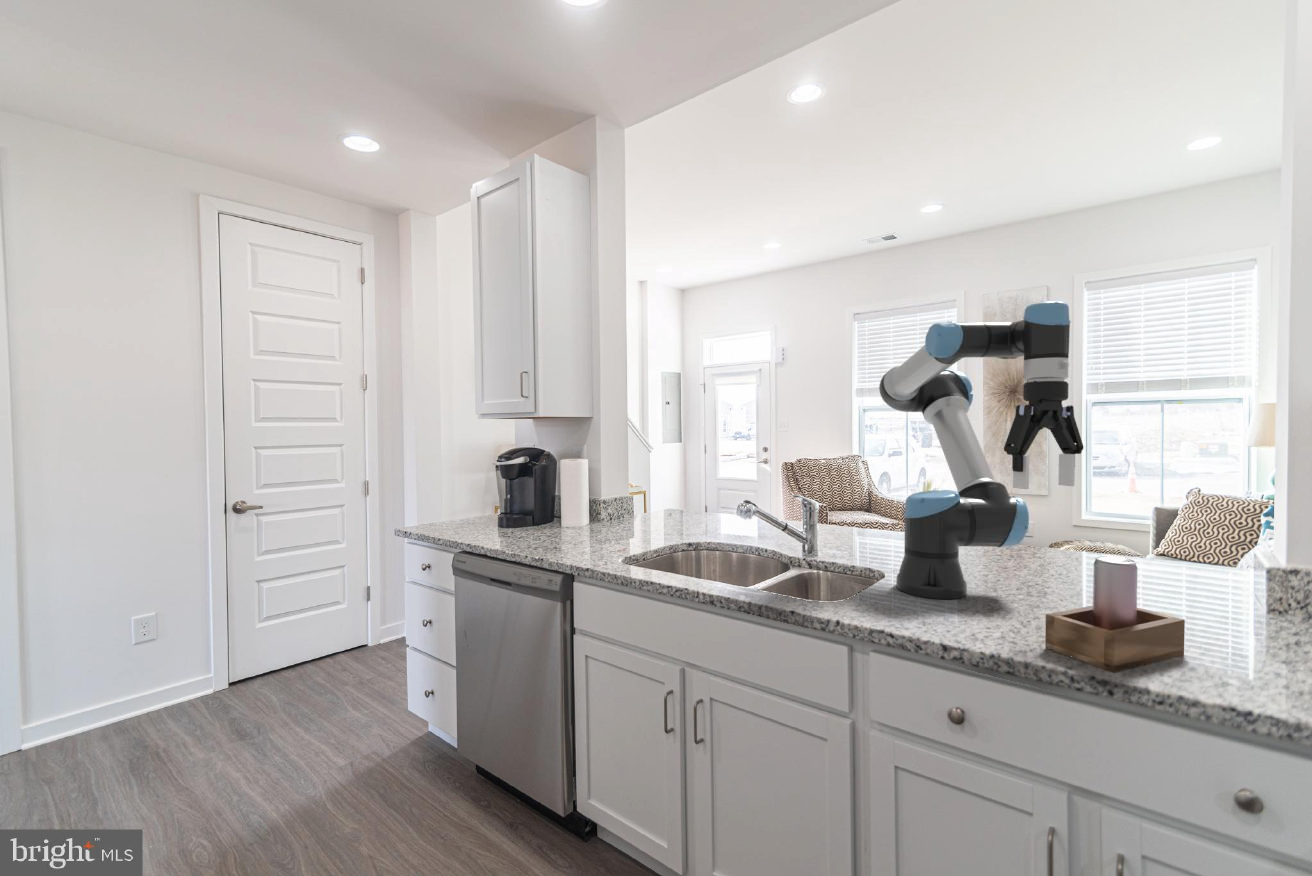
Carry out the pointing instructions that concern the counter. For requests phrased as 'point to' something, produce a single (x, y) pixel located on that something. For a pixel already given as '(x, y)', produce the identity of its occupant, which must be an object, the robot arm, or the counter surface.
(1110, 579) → the beverage can
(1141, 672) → the counter surface
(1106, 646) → the tray
